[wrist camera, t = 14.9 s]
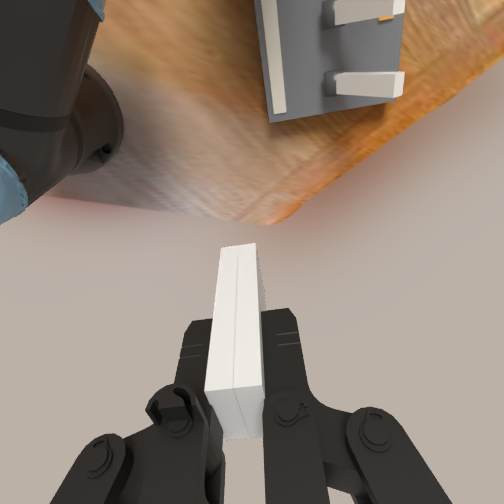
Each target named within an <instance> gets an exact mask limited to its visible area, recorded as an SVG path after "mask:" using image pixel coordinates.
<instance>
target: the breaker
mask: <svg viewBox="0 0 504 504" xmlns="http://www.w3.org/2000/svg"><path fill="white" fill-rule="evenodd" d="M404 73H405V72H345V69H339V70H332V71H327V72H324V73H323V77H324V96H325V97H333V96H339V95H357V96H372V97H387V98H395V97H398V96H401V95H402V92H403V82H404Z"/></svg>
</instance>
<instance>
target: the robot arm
mask: <svg viewBox="0 0 504 504" xmlns="http://www.w3.org/2000/svg"><path fill="white" fill-rule="evenodd" d="M105 2H106V0H0V225H1V224H2V223H4V222H6V221H8V220H10V219H11V218H13V217H16V216H18V215H20V214H21V213H22V212H24V211H25V208H26V207H28V206H29V205H30V204H32V203H33V202H34V201H35V200H37V199H38V198H39V197H40V196H42V195H43V194H44V193H45V192H47V191H48V190H49V189H51V188H52V187H53V186H54V185H56V184H57V183H58V182H59V181H61V180H62V179H63V178H64V177H66V176H67V175H74V174H83V173H88V172H92V171H94V170H96V169H98V168H100V167H102V166H103V165H104V164H106V163H107V162H108V161H109V160H110V159H111V158H112V157H113V156H114V155H115V154H116V152H117V150H118V149H119V147H120V144H121V141H122V136H123V120H122V114H121V111H120V107H119V104H118V102H117V100H116V98H115V96H114V94H113V92H112V90H111V89H110V87H109V86H108V84H107V83H106V82H105V80H104V79H103V78H102V77H101V76H100V75H99V74H98V73H97V72H96V71H95V70H94V69H93V68H92V67H91V66H90V65H88V64H87V62H88V58H89V55H90V52H91V48H92V45H93V42H94V39H95V35H96V32H97V29H98V25H99V22H103V21H104V17H105V16H104V12H103V10H104V6H105ZM145 411H146V413H147V414H148V415H149V417H150V418H151V420H152V421H153V423H154V424H153V425H151V426H149V427H147V428H146V429H143V430H141V431H139V432H137V433H135V434H133V435H130V436H128V437H126V438H124V439H122V438H121V437H120V436H118V435H116V434H104V435H102V436H99V437H97V438H95V439H94V440H93V441H91V442H90V443H89V444H88V445H86V447H85V448H84V449H83V450H82V452H81V453H80V454H79V456H78V457H77V459H76V460H75V462H74V464H73V466H72V467H71V469H70V471H69V472H68V474H67V475H66V477H65V479H64V480H63V482H62V484H61V486H60V487H59V489H58V491H57V492H56V494H55V496H54V497H53V499H52V501H51V502H50V504H224V485H225V464H226V463H225V456H224V453H223V451H222V444H223V434H224V436H225V438H226V440H236V439H246V438H257V437H263V447H264V473H265V498H266V504H330V500H329V495H328V489H327V487H331V488H333V489H337V490H340V491H343V492H346V493H349V494H351V496H352V499H353V501H354V503H355V504H452V502H451V501H450V499H449V498H448V496H447V495H446V493H445V492H444V490H443V489H442V487H441V485H440V484H439V482H438V481H437V479H436V478H435V476H434V475H433V473H432V472H431V470H430V469H429V467H428V466H427V464H426V463H425V461H424V460H423V458H422V456H421V455H420V453H419V452H418V450H417V449H416V447H415V446H414V445H413V443H412V441H411V440H410V438H409V437H408V435H407V434H406V432H405V430H404V429H403V427H402V426H401V425H400V424H399V422H398V421H397V420H396V419H395V418H394V417H393V416H392V415H390V414H389V413H387V412H385V411H384V410H382V409H378V408H373V407H366V408H360V409H358V410H357V411H355V412H354V413H349V412H344V411H340V410H336V409H332V408H330V407H327V406H325V405H324V404H322V403H320V402H319V401H318V400H317V399H316V398H315V397H314V396H313V394H312V393H311V391H310V389H309V386H308V382H307V376H306V371H305V365H304V359H303V354H302V348H301V343H300V338H299V331H298V326H297V320H296V317H295V316H294V315H293V313H292V312H291V311H290V309H289V308H284V309H276V310H268V311H266V306H265V292H264V285H263V280H262V275H261V269H260V265H259V259H258V253H257V248H256V244H255V243H252V244H245V245H239V246H231V247H224V248H221V254H220V264H219V271H218V279H217V288H216V296H215V306H214V313H213V318H212V319H204V320H196V321H192V322H191V324H190V325H189V327H188V329H187V330H186V332H185V333H184V338H183V343H182V348H181V352H180V359H179V362H178V367H177V371H176V377H175V381H174V384H170V385H167V386H165V387H163V388H162V389H160V390H159V391H157V392H156V393H155V394H154V396H153V397H152V398H151V399H150V400H149V402H148V404H147V407H146V409H145Z"/></svg>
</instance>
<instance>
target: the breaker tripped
mask: <svg viewBox="0 0 504 504" xmlns="http://www.w3.org/2000/svg"><path fill="white" fill-rule="evenodd" d="M404 7H405V0H326V1H322V30H326V29H331V28H336V27H341V26H345V24H346V23H351V22H357V21H363V20H368V19H374V18H380V17H385V16H391V15H396V14H401V13H404Z"/></svg>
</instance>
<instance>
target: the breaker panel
mask: <svg viewBox="0 0 504 504" xmlns="http://www.w3.org/2000/svg"><path fill="white" fill-rule="evenodd" d="M253 1H254V9H255V17H256V25H257V33H258V41H259V49H260V57H261V65H262V73H263V81H264V89H265V97H266V105H267V113H268V119H269V123H273V122H279V121H285V120H290V119H296V118H302V117H307V116H313V115H319V114H325V113H330V112H336V111H342V110H347V109H353V108H359V107H364V106H370V105H376V104H381V103H387V102H393V101H396V97H395V98H387V97H372V96H357V95H339V96H333V97H325V96H324V77H323V73H324V72H327V71H332V70H339V69H345V72H398V71H399V61H400V50H401V40H402V29H403V18H404V13H401V14H396V15H391V16H385V17H380V18H374V19H368V20H363V21H357V22H351V23H346V24H345V26H341V27H336V28H331V29H326V30H322V1H326V0H253ZM404 8H405V7H404Z"/></svg>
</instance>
